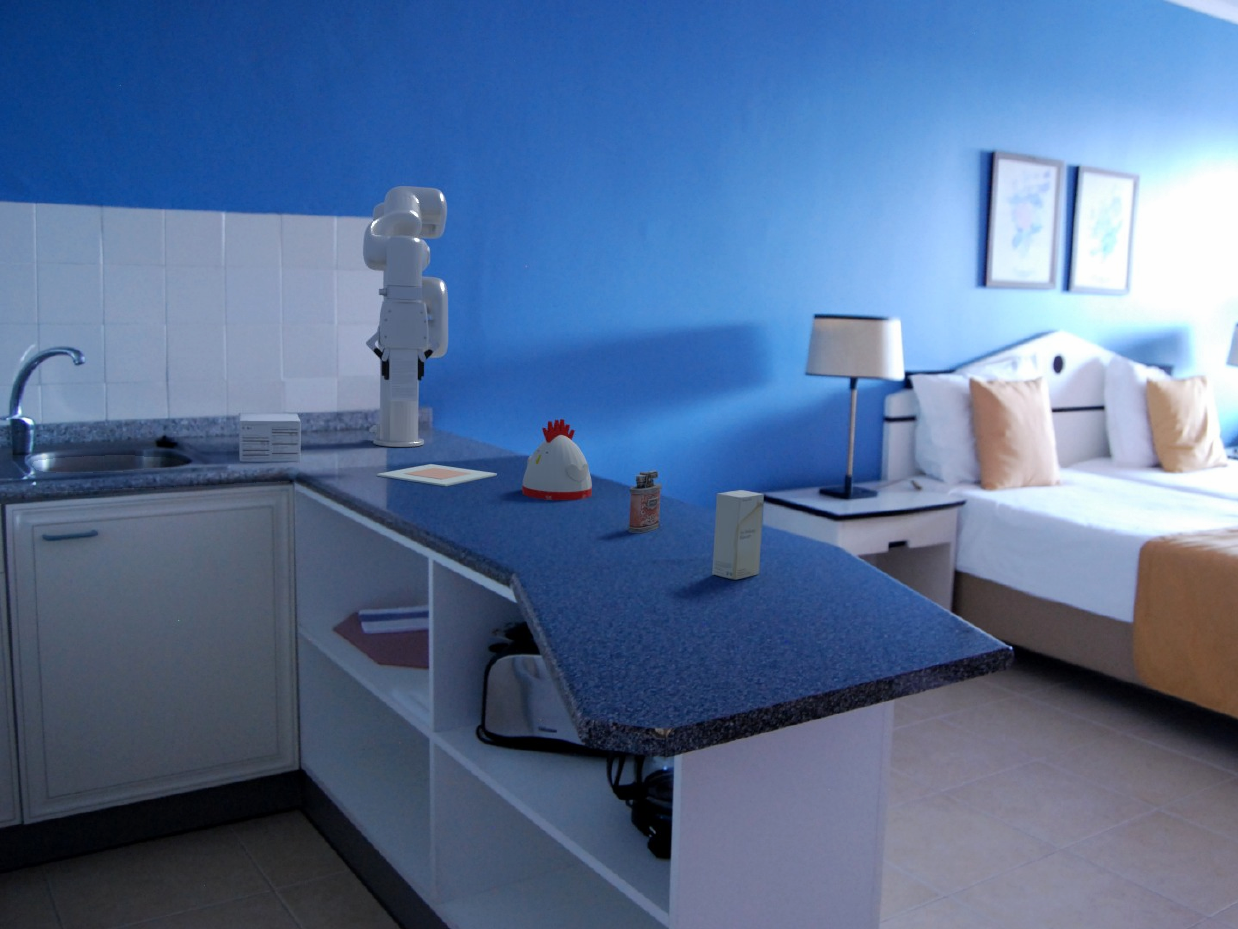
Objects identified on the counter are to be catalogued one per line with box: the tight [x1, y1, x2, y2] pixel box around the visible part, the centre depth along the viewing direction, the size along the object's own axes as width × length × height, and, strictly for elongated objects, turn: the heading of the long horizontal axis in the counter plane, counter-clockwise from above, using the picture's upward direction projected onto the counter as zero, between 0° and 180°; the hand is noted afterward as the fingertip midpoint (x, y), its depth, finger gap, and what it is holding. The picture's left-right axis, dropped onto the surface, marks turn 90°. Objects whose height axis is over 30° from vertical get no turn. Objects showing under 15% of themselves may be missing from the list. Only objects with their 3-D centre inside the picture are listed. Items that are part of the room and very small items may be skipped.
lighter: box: [627, 470, 663, 534], centre depth 185 cm, size 8×3×10 cm, turn 148°
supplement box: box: [238, 412, 302, 463], centre depth 244 cm, size 17×13×9 cm
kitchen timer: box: [521, 418, 593, 501], centre depth 214 cm, size 14×14×15 cm
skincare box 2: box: [711, 489, 765, 580], centre depth 156 cm, size 6×4×12 cm
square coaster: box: [376, 463, 498, 487], centre depth 229 cm, size 18×18×1 cm
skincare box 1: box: [388, 348, 418, 401], centre depth 230 cm, size 6×4×12 cm
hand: (402, 379), depth 230 cm, fingers closed on skincare box 1, 6 cm apart
